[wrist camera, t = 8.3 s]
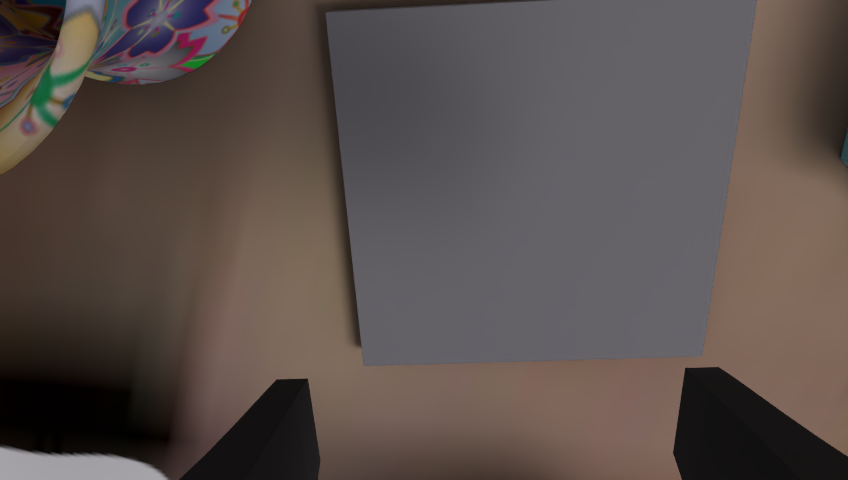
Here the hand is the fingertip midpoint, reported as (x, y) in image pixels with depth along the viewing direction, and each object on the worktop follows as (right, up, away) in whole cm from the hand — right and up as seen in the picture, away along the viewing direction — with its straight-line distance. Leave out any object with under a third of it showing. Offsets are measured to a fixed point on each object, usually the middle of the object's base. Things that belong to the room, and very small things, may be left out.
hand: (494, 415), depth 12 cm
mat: (+2, +5, +9) cm, 10 cm away
